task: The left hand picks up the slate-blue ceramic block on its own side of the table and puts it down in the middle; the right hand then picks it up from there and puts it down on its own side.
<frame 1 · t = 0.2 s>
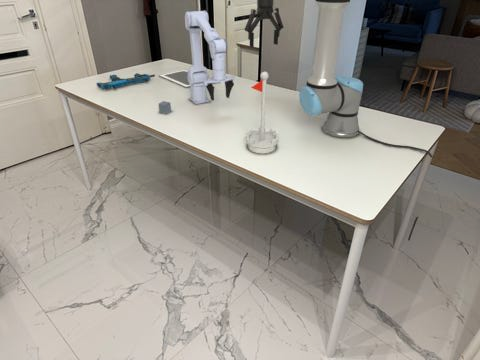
left hand: (220, 98, 156), 10 cm above the table, tool pointing down, fingers open, 7 cm apart
right hand: (263, 45, 167), 28 cm above the table, tool pointing down, fingers open, 13 cm apart
tablet: (185, 78, 216), on the table
submachine gun: (125, 82, 210), on the table
flag stand: (261, 147, 137), on the table
block: (165, 112, 169), on the table
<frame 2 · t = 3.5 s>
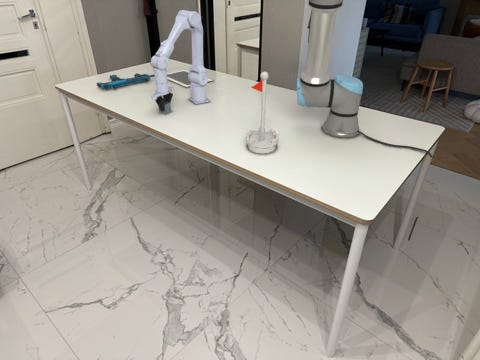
left hand: (165, 109, 168), 1 cm above the table, tool pointing down, fingers closed on block, 4 cm apart
right hand: (314, 40, 169), 30 cm above the table, tool pointing down, fingers open, 13 cm apart
block: (165, 112, 169), on the table, touching left hand
everything else where it was.
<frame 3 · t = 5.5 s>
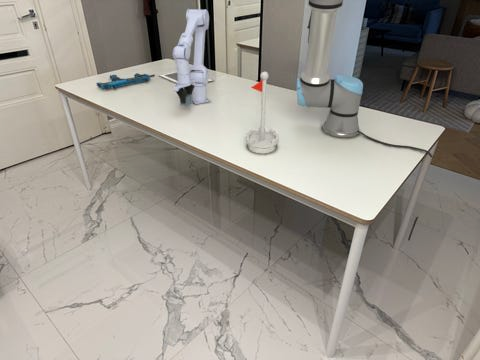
left hand: (186, 101, 164), 6 cm above the table, tool pointing down, fingers closed on block, 4 cm apart
right hand: (314, 40, 169), 30 cm above the table, tool pointing down, fingers open, 13 cm apart
block: (186, 104, 165), point 4 cm above the table, touching left hand
everything else where it was.
when the left hand's fingers open (2 cm above the table, at t = 7.7 s): block stays where it is, on the table.
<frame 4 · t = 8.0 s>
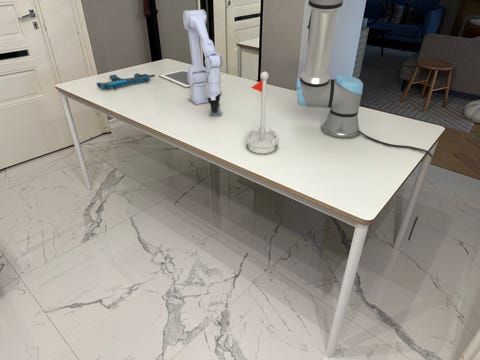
left hand: (215, 109, 165), 2 cm above the table, tool pointing down, fingers open, 6 cm apart
right hand: (314, 40, 169), 30 cm above the table, tool pointing down, fingers open, 13 cm apart
block: (215, 114, 166), on the table
everything else where it was.
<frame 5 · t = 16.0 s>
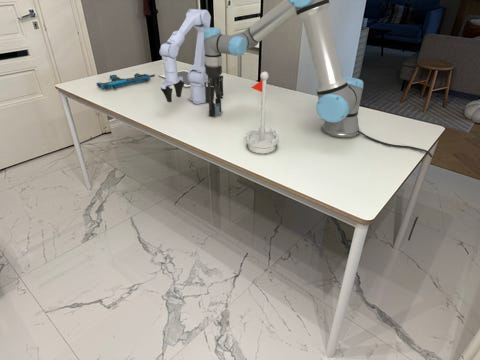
left hand: (174, 99, 165), 7 cm above the table, tool pointing down, fingers open, 7 cm apart
right hand: (215, 113, 166), 0 cm above the table, tool pointing down, fingers closed on block, 5 cm apart
block: (215, 114, 166), on the table, touching right hand
everything else where it was.
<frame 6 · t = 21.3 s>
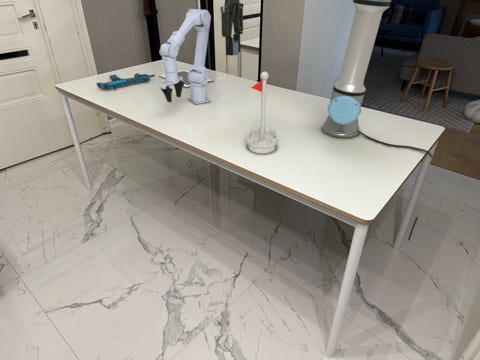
left hand: (174, 99, 165), 7 cm above the table, tool pointing down, fingers open, 7 cm apart
right hand: (233, 53, 133), 33 cm above the table, tool pointing down, fingers closed on block, 5 cm apart
block: (233, 54, 133), point 32 cm above the table, touching right hand
everything else where it was.
when the right hand's fingers open (1 cm above the table, at t = 26.6 s): block stays where it is, on the table.
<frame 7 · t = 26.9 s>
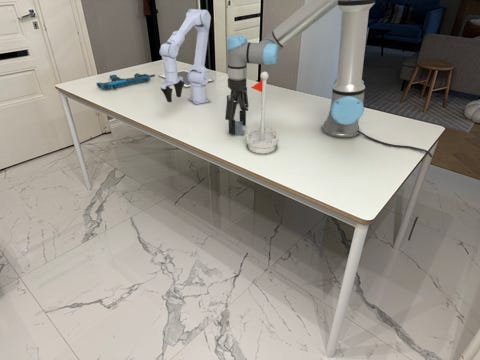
left hand: (174, 99, 165), 7 cm above the table, tool pointing down, fingers open, 7 cm apart
right hand: (237, 129, 147), 2 cm above the table, tool pointing down, fingers open, 9 cm apart
block: (237, 132, 148), on the table
everything else where it was.
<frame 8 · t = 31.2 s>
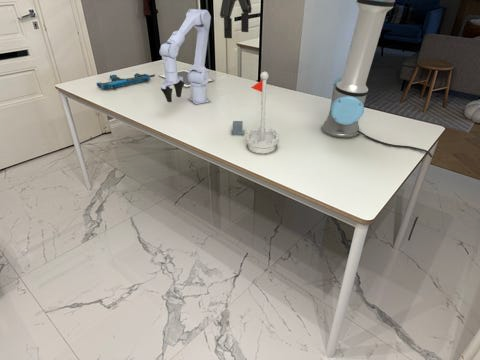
left hand: (174, 99, 165), 7 cm above the table, tool pointing down, fingers open, 7 cm apart
right hand: (236, 35, 126), 40 cm above the table, tool pointing down, fingers open, 13 cm apart
nothing on the table moved.
at the end: block inside the target area (0.1 cm from its centre), on the table; block tilted 0°; the two hands never held the block at the same time; the left hand is holding nothing; the right hand is holding nothing; block at rest at the end (0.0 cm/s) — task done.
